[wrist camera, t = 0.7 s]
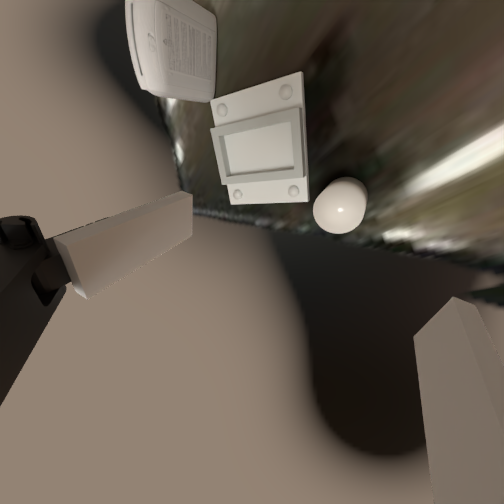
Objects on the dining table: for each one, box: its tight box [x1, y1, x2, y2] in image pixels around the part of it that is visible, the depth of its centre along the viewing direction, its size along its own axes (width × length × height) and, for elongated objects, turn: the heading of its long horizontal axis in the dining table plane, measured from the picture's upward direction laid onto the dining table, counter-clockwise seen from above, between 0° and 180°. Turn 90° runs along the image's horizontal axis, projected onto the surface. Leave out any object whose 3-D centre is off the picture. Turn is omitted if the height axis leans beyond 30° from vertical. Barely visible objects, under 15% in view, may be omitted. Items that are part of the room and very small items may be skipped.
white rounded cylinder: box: [313, 177, 368, 234], centre depth 30 cm, size 6×6×6 cm
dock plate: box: [210, 71, 310, 204], centre depth 34 cm, size 16×14×2 cm
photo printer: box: [125, 0, 217, 103], centre depth 28 cm, size 10×4×12 cm, turn 173°
